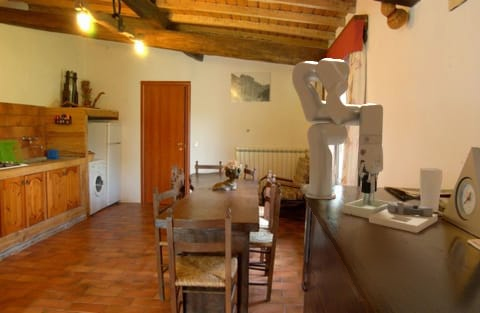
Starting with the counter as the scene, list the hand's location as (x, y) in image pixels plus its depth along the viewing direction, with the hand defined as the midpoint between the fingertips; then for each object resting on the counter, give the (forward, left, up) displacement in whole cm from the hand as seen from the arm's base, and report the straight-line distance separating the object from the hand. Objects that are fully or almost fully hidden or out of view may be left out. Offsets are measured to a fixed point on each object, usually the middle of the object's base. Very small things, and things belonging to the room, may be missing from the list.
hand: (368, 191), depth 112 cm
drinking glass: (+14, +16, -7) cm, 23 cm away
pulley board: (+13, -3, -7) cm, 15 cm away
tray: (0, 0, -7) cm, 7 cm away
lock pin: (0, 0, -4) cm, 4 cm away
